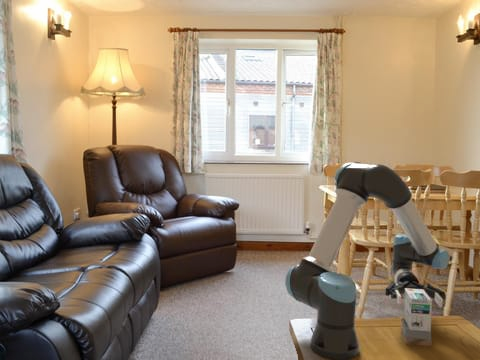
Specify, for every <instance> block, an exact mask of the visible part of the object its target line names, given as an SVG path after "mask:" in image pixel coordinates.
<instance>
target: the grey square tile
mask: <svg viewBox="0 0 480 360" xmlns="http://www.w3.org/2000/svg"><path fill="white" fill-rule="evenodd" d="M401 328H402V330H403V333H404V336H405V337H408V338H418V339H427V340H431V339H432V330H431V331H419V330H410V329H409V327H408V325H407V323H406V321H405V319H404V318H401Z"/></svg>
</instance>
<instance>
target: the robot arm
mask: <svg viewBox="0 0 480 360" xmlns="http://www.w3.org/2000/svg"><path fill="white" fill-rule="evenodd" d="M334 181H335V182H334V186H335V190H334V192H335V194H336V198H335V200H334V203H333V205H332V206H331V209H330V210H329V213H328V215H327V216H326V219H325V220H324V223H323V225H322V226H321V229H320V231H319V233H318V235H317V237H316V239H315V241H314V243H313V246H312V248H311V250H310V252H309V254H308V255H307V256H305V257H302V258H301V261H300V262H299V264H295V265H293V266H291V267H290V268H289V269H288V271H287V273H286V275H285V279H284V281H285V285H284V286H285V288H286V292H287V293H288V295H289V296H290V297H292V298H293V299H295V300H296V301H298V302H299V303H302V304H304V305H306V306H308V307H310V308H312V309H314V310H316V312H317V315H316V318H317V319H316V325H315V328H314V330H313V332H312V336H311V338H310V349H311V350H312V351H313V352H314V353H315V354H317V355H318V356H320V357H323V358H326V359H330V360H349V359H353V358H356V357H357V356H358V355H359V352H360V342H359V340H358V335H357V332H356V329H355V320H356V319H355V318H356V305H357V288H356V287H357V286H356V283H355V281H354V280H353V278H351V277H350V276H348V275H346V274H343V273H340V272H339V273H338V272H335V271H333V269H332V266H333V264H334V262H335V260H336V257H337V255H338V253H339V251H340V249H341V247H342V244H343V242H344V240H345V239H346V236H347V235H348V232H349V230H350V228H351V226H352V223H353V221H354V219H355V217H356V215H357V213H358V211H359V208H361V207H363V206H365V205H366V204H367V203H368V200H369V198H373V199H374V198H375V199H378V200H380V201H381V202H382V203H383V204H384V206H385V207H386V208H387V209H390V210H391V211H392V213H393V215H394V217H395V218H396V220H397V221H398V224H399V225H400V226H401V228H402V230H403V232H404V233H399V234H398V233H397V234H395V235H394V239H393V244H392V264H391V265H390V267H389V271H390V275H391V278H392V279H393V280H392V281H391V280H390V284H389V285H387V286H386V287H385V296H390V298H391V299H393V300H394V299H395V301H396V303H397V304H398V305H402V296H401V294H404V295H405V288H410V289H423V290H425V292H426V293H427V295H428V296H429V297H430V298H431V299H433V300H434V302H436V304H437V306H438V307H439V308H443V302H444V300H446V292H445V291H443V290H441V289H439V288H436V287H435V286H433V285H431V284H430V283H426V284H425V285H424V284H422V283H420V281H419V279H418V277H417V276H416V275H415V273H414V272H413V263H415V264H419V265H423V266H425V267H430V268H432V269H437V270H444V269H446V268H447V267H448V265H449V264H450V260H451V255H450V253H449V251H448V250H446V249H443V248H440V247H439V246H438V245H437V242H436V241H435V239H434V236H432V233H431V231H430V230H429V228H428V227H427V224H426V223H425V221H424V219H423V217H422V215H421V214H420V212H419V210H418V209H417V207H416V205H415V203H414V202H413V200H412V197H413V196H412V195H413V193H412V191H411V189H410V188H409V186H408V184H407V183H406V182H405V181H404V179H403V178H402V177H401V176H400V175H399V174H398V173H397V172H396V171H395V170H393V169H392V168H390V166H389V167H388V166H386V165H384V164H379V163H365V162H359V161H358V162H357V161H353V162H347V163H344V164H342V165H341V166H340V167H339V168H338V169H337V172H336V173H335V176H334Z"/></svg>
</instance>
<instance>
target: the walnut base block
mask: <svg viewBox="0 0 480 360" xmlns="http://www.w3.org/2000/svg"><path fill="white" fill-rule="evenodd" d="M400 335H401V337H402V339H403V342H404V343H405V344H406V345H412V346H413V345H415V346H426V347H427V346H428V347H431V346H432V343H433V342H432V341H433V340H432V338H431V340H427V339H418V338H408V337H405V336H404V333H403V330H402V327H400Z"/></svg>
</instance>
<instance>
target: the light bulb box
mask: <svg viewBox="0 0 480 360" xmlns="http://www.w3.org/2000/svg"><path fill="white" fill-rule="evenodd" d="M432 311H433V298H431V297H429V296H428V295H427V293H426V292H425V290H423V289H410V288H405V293H404V301H403V317H402V319H405V321H406V323H407V325H408V327H409V329H410V330H419V331H431V332H432V330H431V329H432Z"/></svg>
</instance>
